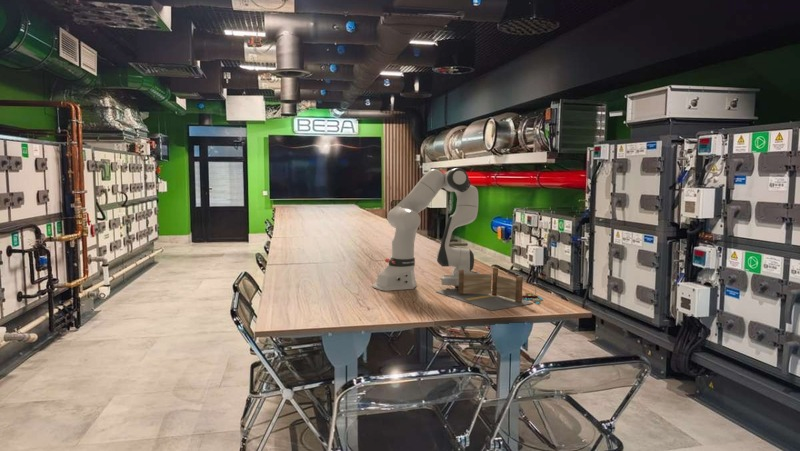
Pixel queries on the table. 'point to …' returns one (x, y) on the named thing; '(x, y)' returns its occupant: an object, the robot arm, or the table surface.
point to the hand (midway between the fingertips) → (463, 284)
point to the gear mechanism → (534, 297)
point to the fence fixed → (507, 286)
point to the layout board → (484, 300)
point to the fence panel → (474, 283)
